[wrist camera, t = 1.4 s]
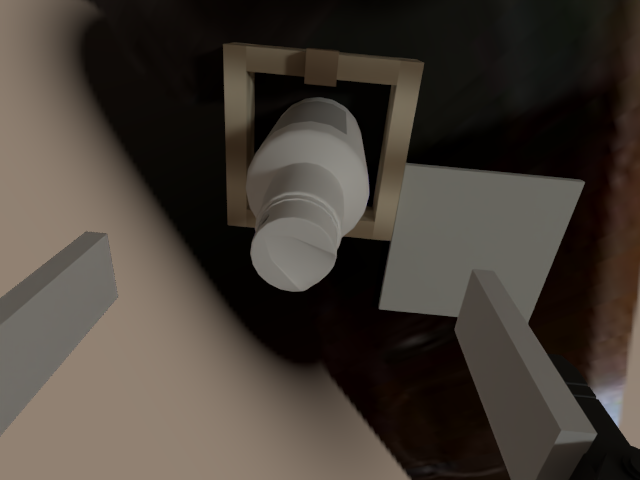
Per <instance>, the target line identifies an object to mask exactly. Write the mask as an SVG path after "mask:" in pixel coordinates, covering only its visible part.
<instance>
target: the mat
mask: <svg viewBox="0 0 640 480" xmlns="http://www.w3.org/2000/svg"><path fill="white" fill-rule="evenodd" d="M584 184H585V182H584V181H582V180H578V179H568V178H557V177H547V176H536V175H526V174H516V173H505V172H495V171H484V170H474V169H463V168H453V167H442V166H432V165H421V164H411V163H405V168H404V174H403V179H402V185H401V190H400V195H399V201H398V206H397V211H396V217H395V222H394V228H393V233H392V238H391V241H390V245H389V251H388V256H387V261H386V267H385V272H384V278H383V283H382V288H381V294H380V299H379V305H378V306H379V309H383V310H393V311H403V312H413V313H424V314H434V315H444V316H454V317H458V316H459V313H460V309H461V306H462V302H463V299H464V296H465V292H466V289H467V286H468V282H469V279H470V275H471V272H472V269H479V270H489V271H494V272H495V274H496V275H497V277H498V278H499V280H500V281H501V283H502V285H503V286H504V288H505V289H506V291H507V292H508V294H509V296H510V297H511V299H512V300H513V302H514V303H515V305H516V307H517V308H518V310H519V311H520V313H521V314H522V316H523V318H524V319H525V321H526V322H527V324H528V321H529V319H530V316H531V314H532V312H533V309H534V307H535V304H536V302H537V299H538V297H539V294H540V292H541V289H542V287H543V284H544V282H545V280H546V277H547V275H548V272H549V270H550V267H551V265H552V262H553V260H554V257H555V255H556V252H557V250H558V248H559V245H560V243H561V240H562V238H563V235H564V233H565V230H566V228H567V225H568V223H569V220H570V218H571V216H572V213H573V211H574V208H575V206H576V203H577V201H578V198H579V196H580V193H581V191H582V188H583V186H584Z"/></svg>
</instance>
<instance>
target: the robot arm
mask: <svg viewBox="0 0 640 480" xmlns="http://www.w3.org/2000/svg"><path fill="white" fill-rule="evenodd" d="M117 298H118V294H117V288H116V282H115V276H114V271H113V265H112V259H111V253H110V247H109V241H108V236H107V234H106V233H95V232H85V233H84V234H82V235H81V236H80V237H78V238H77V239H76V240H74V241H73V242H72V243H71V244H69V245H68V246H67V247H65V248H64V249H63V250H62V251H60V252H59V253H58V254H56V255H55V256H54V257H53V258H51V259H50V260H49V261H47V262H46V263H45V264H44V265H42V266H41V267H40V268H39V269H37V270H36V271H35V272H33V273H32V274H31V275H29V276H28V277H27V278H26V279H24V280H23V281H22V282H21V283H19V284H18V285H17V286H15V287H14V288H13V289H12V290H10V291H9V292H8V293H6V295H4V296H3V297H1V298H0V436H1V435H2V434H3V432H4V431H5V430H6V429H7V427H8V426H9V425H10V424H11V423H12V422H13V421H14V419H15V418H16V416H18V415H19V413H20V412H21V411H22V410H23V409H24V408H25V406H26V405H27V404H28V403H29V402H30V400H31V399H32V398H33V397H34V396H35V395H36V393H37V392H38V391H39V390H40V389H41V387H42V386H43V385H44V384H45V383H46V382H47V380H48V379H49V378H50V377H51V376H52V374H53V373H54V372H55V371H56V370H57V369H58V367H59V366H60V365H61V364H62V363H63V361H64V360H65V359H66V358H67V357H68V356H69V354H70V353H71V352H72V351H73V350H74V348H75V347H76V346H77V345H78V343H80V341H81V340H82V339H83V338H84V337H85V335H86V334H87V333H88V332H89V331H90V329H91V328H92V327H93V326H94V325H95V324H96V322H97V321H98V320H99V319H100V318H101V316H102V315H103V314H104V313H105V312H106V311H107V309H108V308H109V307H110V306H111V305H112V303H113V302H114V301H115V300H116V299H117ZM454 330H455V333H456V335H457V338H458V340H459V343H460V346H461V348H462V351H463V354H464V356H465V359H466V362H467V364H468V367H469V370H470V372H471V375H472V378H473V380H474V383H475V385H476V388H477V391H478V393H479V396H480V399H481V401H482V404H483V407H484V409H485V412H486V415H487V417H488V420H489V423H490V425H491V428H492V430H493V433H494V436H495V438H496V441H497V444H498V446H499V449H500V452H501V454H502V457H503V460H504V462H505V465H506V468H507V470H508V473H509V475H510V478H511V480H640V449H638V448H636V447H633V446H630V444H629V443H628V441H627V440H626V438H625V437H624V436H623V434H622V433H621V431H620V430H619V428H618V427H617V426H616V424H615V423H614V421H613V420H612V418H611V417H610V415H609V414H608V413H607V411H606V410H605V408H604V407H603V405H602V404H601V403H600V401H599V400H598V399H596V395H595V394H594V393H593V391H592V390H591V388H590V387H588V386H587V383H586V381H585V380H584V378H583V377H582V375H581V374H580V372H579V371H578V370H577V369H576V368H575V367H574V366H573V365H572V364H571V363H569V362H568V361H567V360H566V359H565V358H564V357H562V356H561V355H553V354H546V352H545V351H544V349H543V347H542V346H541V344H540V343H539V341H538V340H537V338H536V336H535V335H534V333H533V332H532V330H531V329H530V327H529V325H528V324H527V322H526V321H525V319H524V318H523V316H522V314H521V313H520V311H519V310H518V308H517V307H516V305H515V303H514V302H513V300H512V299H511V297H510V296H509V294H508V292H507V291H506V289H505V288H504V286H503V285H502V283H501V281H500V280H499V278H498V277H497V275H496V274H495V272H494V271H489V270H479V269H472V272H471V275H470V279H469V282H468V286H467V289H466V292H465V296H464V299H463V302H462V306H461V309H460V313H459V316H458V319H457V323H456V326H455V329H454Z"/></svg>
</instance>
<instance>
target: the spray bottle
mask: <svg viewBox="0 0 640 480" xmlns="http://www.w3.org/2000/svg"><path fill="white" fill-rule="evenodd" d="M246 193H247V197H248V202H249V206H250V209H251V210H252V212H253V214H254V216H255V217H256V225H255V231H256V233H255V235H254V238H253V240H252V245H251V252H250V254H251V258H252V262H253V266H254V267H255V269H256V270H257V272H258V274H259V275H260V276H261V277H262V278H263V279H264V280H266V282H268V283H269V284H271V285H273V286H275V287H277V288H279V289H282V290H287V291H293V292H294V291H304V290H306V289H308V288H309V287H311V286H312V285H314V284H316V283H318V282H319V281H320V280H321V279H323V278H324V277H325V276H326V275H327V274H328V273H329V271H330V270H331V269H332V268H333V266H334V263H335V260H336V257H337V249H338V247H339V245H340V241H341V238H342V237H343V236H344V235H346V234H347V233H348V232H349V231H351V230H352V229H353V228H354V227H355V226H356V224H357V223H358V221H359V220H360V218H361V217H362V215H363V214H364V212H365V209H366V205H367V201H368V198H369V181H368V172H367V166H366V160H365V154H364V148H363V142H362V136H361V131H360V129H359V126H358V124H357V121H356V119H355V118H354V116H353V115H352V114H351V113H350V112H349V111H348V109H347V108H346V107H344V106H342V105H341V104H339V103H337V102H336V101H334V100H331V99H326V98H321V97H316V98H307V99H303V100H301V101H299V102H297V103H295V104H293V105H292V106H291V107H290V108H289V109H287V110H286V111H285V112H284V113H283V114H282V116H281V117H280V119H279V120H278V121H277V123H276V124H275V126H274V127H273V129H272V130H271V132H270V133H269V135H268V136H267V137H266V139H265V140H264V142H263V143H262V145H261V146H260V148H259V149H258V151H257V152H256V154H255V156H254V158H253V160H252V162H251V164H250V166H249V168H248V172H247V181H246Z"/></svg>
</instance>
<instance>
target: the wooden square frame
mask: <svg viewBox="0 0 640 480" xmlns="http://www.w3.org/2000/svg"><path fill="white" fill-rule="evenodd" d="M223 59H224V99H225V135H226V136H225V139H226V178H227V216H228V225H232V226H242V227H253V228H255V225H256V217H255V216H254V214H253V212H252V210H251V209H250V206H249V202H248V197H247V193H246V181H247V172H248V168H249V166H250V164H251V162H252V160H253V158H254V123H255V72H260V73H271V74H282V75H292V76H303V77H305V80H304V84H313V85H323V86H334V87H336V80H345V81H356V82H366V83H377V84H387V85H391V90H390V97H389V103H388V110H387V116H386V122H385V129H384V135H383V142H382V148H381V155H380V161H379V168H378V174H377V181H376V187H375V193H374V200H373V206H372V207H369V206H366V209H365V212H364V214H363V215H362V217H361V218H360V220H359V221H358V223H357V224H356V226H355V227H354V228H353V229H352V230H351V231H349V232H348V233H347V234H346V235H344V236H346V237H356V238H366V239H377V240H387V241H391V238H392V233H393V228H394V222H395V217H396V211H397V206H398V201H399V195H400V190H401V185H402V179H403V174H404V168H405V163H406V158H407V152H408V147H409V142H410V136H411V131H412V125H413V120H414V115H415V109H416V104H417V98H418V93H419V88H420V82H421V77H422V72H423V66H424V63H423V62H421V61H419V60H416V59H405V58H395V57H384V56H373V55H363V54H352V53H342V52H339V51H338V50H327V49H316V48H307V49H299V48H289V47H278V46H267V45H257V44H246V43H235V42H233V43H227V44H223Z"/></svg>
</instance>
